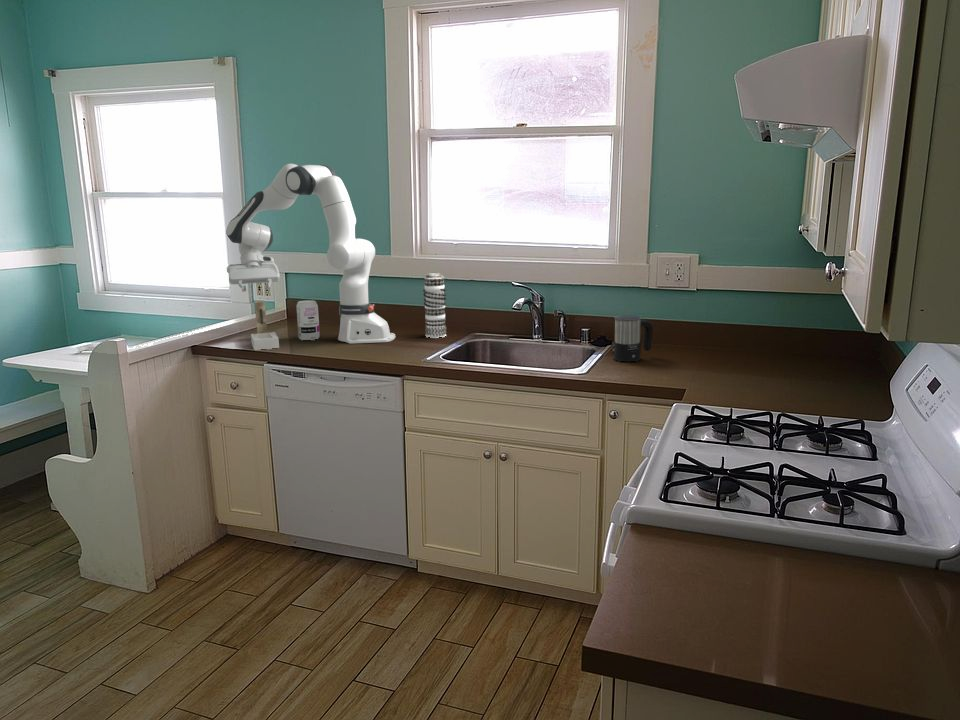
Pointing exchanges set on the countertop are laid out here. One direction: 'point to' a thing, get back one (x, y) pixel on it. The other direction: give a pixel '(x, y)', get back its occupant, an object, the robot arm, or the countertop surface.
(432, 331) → the decorative candle
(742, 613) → the countertop surface
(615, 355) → the milk frother
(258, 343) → the white rectangular tray
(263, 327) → the beige wooden block
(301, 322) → the supplement can
